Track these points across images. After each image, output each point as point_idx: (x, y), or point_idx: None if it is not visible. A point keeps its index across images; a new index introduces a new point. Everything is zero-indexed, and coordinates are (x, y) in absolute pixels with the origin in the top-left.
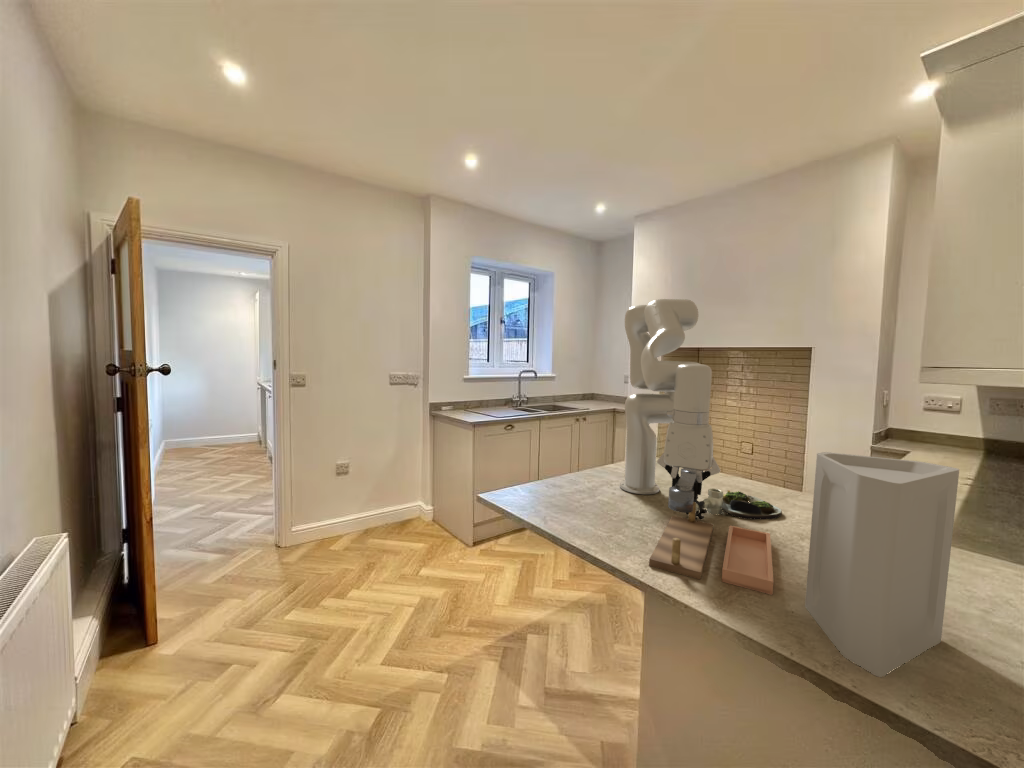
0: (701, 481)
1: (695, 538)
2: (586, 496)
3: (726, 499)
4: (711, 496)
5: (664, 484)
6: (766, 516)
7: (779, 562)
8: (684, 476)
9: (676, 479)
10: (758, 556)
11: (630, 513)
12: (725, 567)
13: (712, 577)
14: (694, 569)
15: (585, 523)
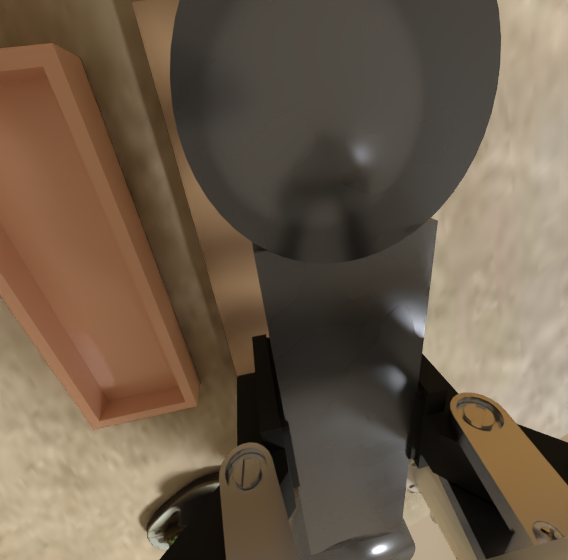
0: (226, 462)
1: (251, 283)
2: (554, 350)
3: None
4: None
5: None
6: (167, 506)
7: None
8: (381, 483)
9: (433, 389)
10: (77, 311)
11: (441, 335)
12: (52, 72)
13: (118, 72)
14: (161, 13)
15: (554, 189)
